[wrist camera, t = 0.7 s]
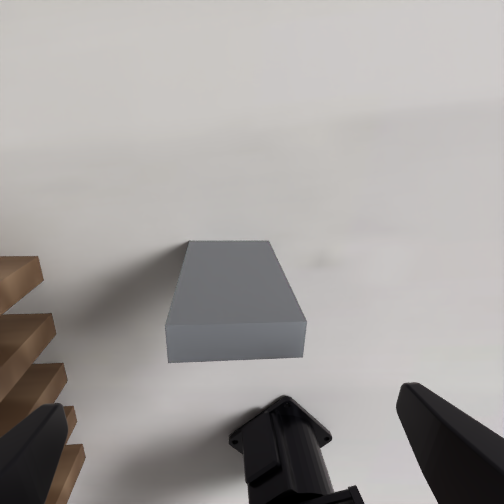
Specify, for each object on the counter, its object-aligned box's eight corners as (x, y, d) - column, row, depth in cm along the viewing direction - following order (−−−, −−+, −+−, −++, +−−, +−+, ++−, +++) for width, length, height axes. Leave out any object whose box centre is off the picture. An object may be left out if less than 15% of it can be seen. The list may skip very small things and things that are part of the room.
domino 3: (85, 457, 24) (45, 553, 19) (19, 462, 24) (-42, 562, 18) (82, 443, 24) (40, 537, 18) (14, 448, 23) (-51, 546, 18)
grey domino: (267, 263, 20) (302, 357, 11) (190, 264, 19) (168, 362, 11) (268, 240, 19) (306, 321, 11) (189, 240, 19) (165, 325, 10)
